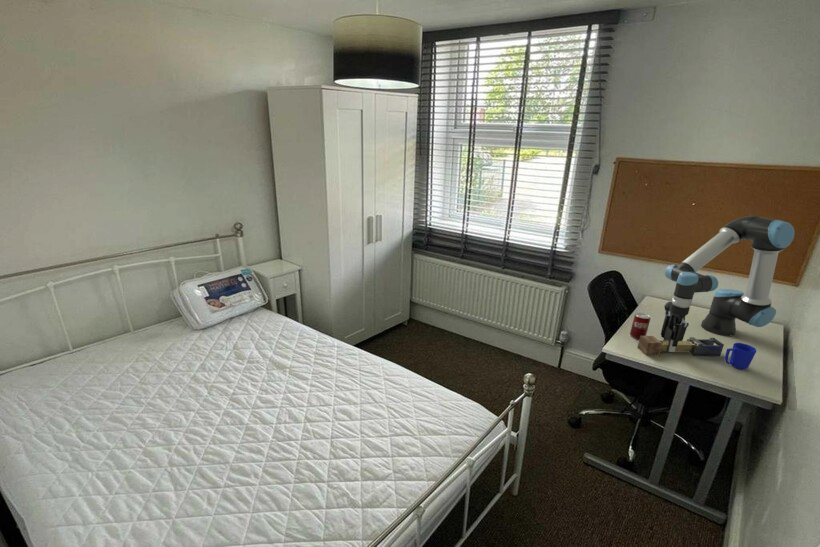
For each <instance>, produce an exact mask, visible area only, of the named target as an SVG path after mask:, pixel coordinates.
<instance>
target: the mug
mask: <svg viewBox="0 0 820 547" xmlns="http://www.w3.org/2000/svg"><path fill="white" fill-rule="evenodd" d="M725 351H726V352H725V356H724V361H725V363H726V364H728V365H730V366H732V367H734V368H735V369H739V370H747V369H748V368H750V365H751V364H752V361H753V359H754V357H755V356H756V355H755V354H756V353H757V349H756V347H754V346H752V345H749V344H746V343H742V342H735V343H733V346H732V347H730V348H726V350H725ZM729 355H730V356H729ZM729 357H730V359H729Z"/></svg>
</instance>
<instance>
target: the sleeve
mask: <svg viewBox="0 0 820 547" xmlns="http://www.w3.org/2000/svg"><path fill="white" fill-rule="evenodd" d="M686 341H693V342H694V343H695V344H697V345H695V347H694V350H693V352H688V353H689V354H690V355H692V356H694V357H695V356H696V357H721V354H722V352H723V349H724V346H725V344H724V343H722V341H720V340H718V339H717V338H715V337H709V338H708V339H705V338H703V339H701V338H695V337H693V336H692V337H689V338H687V339H686ZM703 344H704V345H703Z"/></svg>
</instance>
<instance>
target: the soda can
mask: <svg viewBox="0 0 820 547" xmlns="http://www.w3.org/2000/svg"><path fill="white" fill-rule="evenodd" d="M650 323H651V316H650V315H648V314H647V313H643V312H637V313H634V316H633V318H632V325H631V328H630V331H629V335H630V336H631V337H632V338H633V339H637V340H639V339H640V336H647V334H648V330H649V327H650Z"/></svg>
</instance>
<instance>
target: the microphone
mask: <svg viewBox="0 0 820 547" xmlns="http://www.w3.org/2000/svg"><path fill="white" fill-rule="evenodd" d="M671 303H672V300H671V301H668V302H666V303H665V304H664V311H665V313H666V312H670V310H669V309H670V305H671ZM664 320H665V318H664ZM664 320H663V321H664ZM663 324H664V322H663V323H662V325H663ZM662 329H663V326H662V328H661V332H660V337H661V338H663V339H664V335H665V333H664V331H663V330H662Z"/></svg>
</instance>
